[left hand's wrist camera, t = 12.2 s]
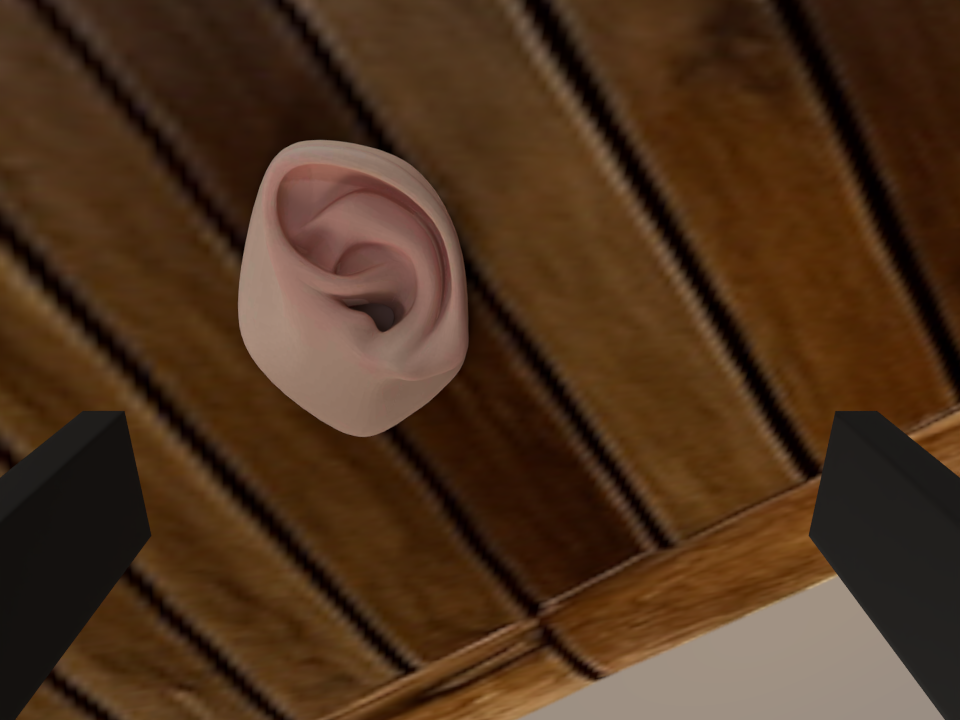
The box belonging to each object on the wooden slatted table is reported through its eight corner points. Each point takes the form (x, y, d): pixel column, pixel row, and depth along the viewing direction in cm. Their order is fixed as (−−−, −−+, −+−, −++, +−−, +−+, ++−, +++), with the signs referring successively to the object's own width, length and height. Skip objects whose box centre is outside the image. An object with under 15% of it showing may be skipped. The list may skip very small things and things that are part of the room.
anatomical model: (404, 503, 31) (157, 401, 29) (411, 458, 34) (192, 366, 32) (546, 244, 26) (268, 102, 24) (536, 225, 30) (293, 100, 28)
